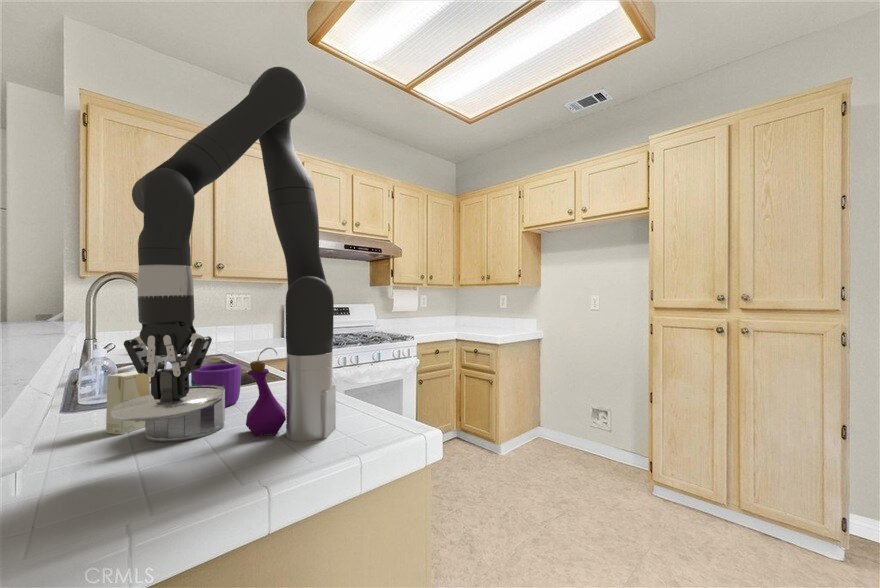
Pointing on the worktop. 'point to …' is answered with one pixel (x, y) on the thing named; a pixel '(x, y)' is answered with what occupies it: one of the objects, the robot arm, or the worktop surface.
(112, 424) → the skincare box
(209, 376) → the mug
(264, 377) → the perfume bottle
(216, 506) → the worktop surface
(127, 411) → the lid
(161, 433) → the pot
